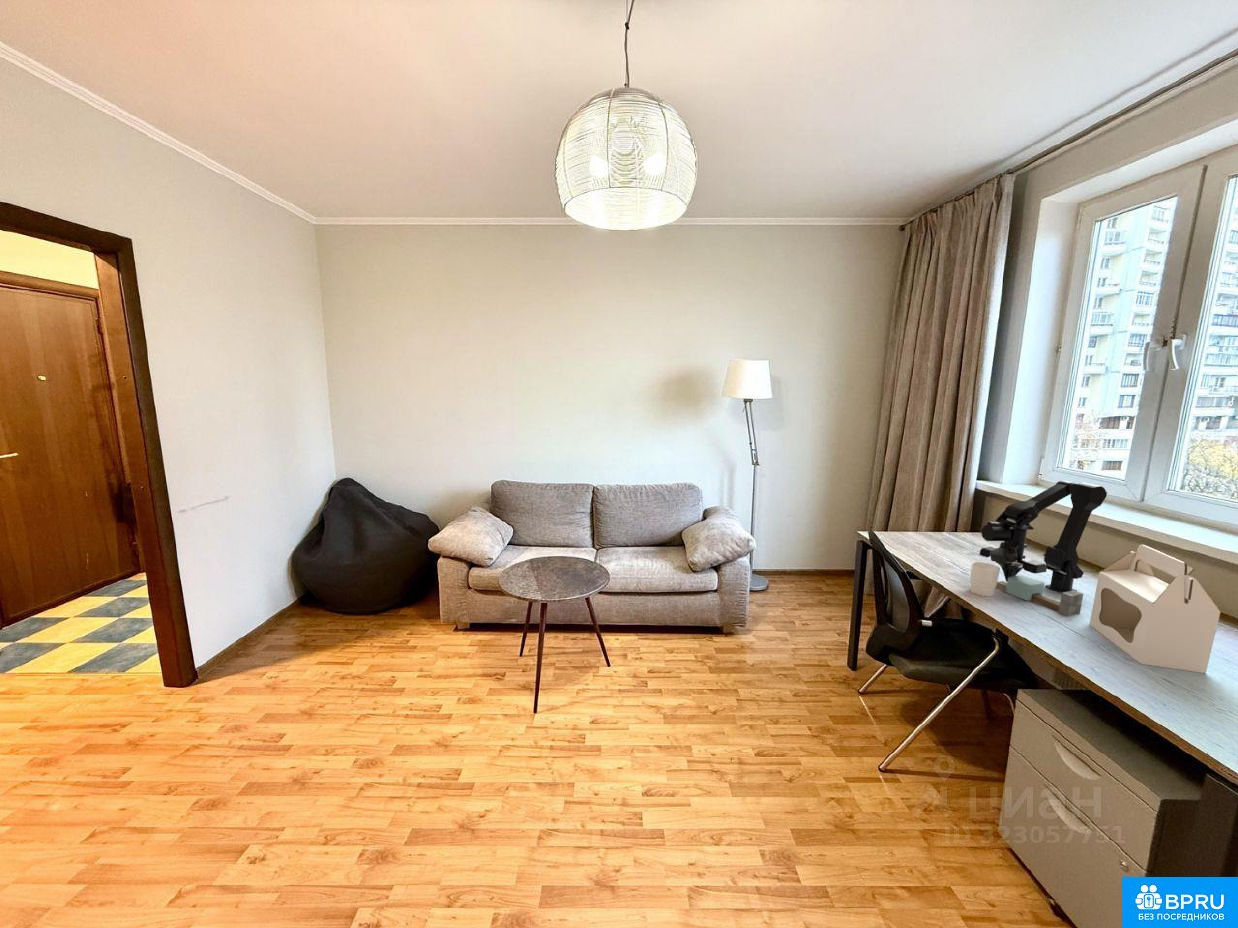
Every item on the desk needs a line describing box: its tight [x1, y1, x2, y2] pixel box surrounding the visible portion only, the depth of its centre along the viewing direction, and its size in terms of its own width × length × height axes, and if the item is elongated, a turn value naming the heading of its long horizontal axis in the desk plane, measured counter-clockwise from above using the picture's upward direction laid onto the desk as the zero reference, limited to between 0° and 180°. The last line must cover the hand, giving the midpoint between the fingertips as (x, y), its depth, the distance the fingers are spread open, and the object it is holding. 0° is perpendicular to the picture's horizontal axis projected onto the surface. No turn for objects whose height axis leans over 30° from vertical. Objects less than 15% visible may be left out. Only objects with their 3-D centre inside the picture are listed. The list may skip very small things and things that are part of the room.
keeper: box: [1005, 574, 1045, 602], centre depth 163 cm, size 7×7×6 cm
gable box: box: [1089, 544, 1221, 674], centre depth 130 cm, size 22×13×28 cm, turn 162°
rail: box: [996, 580, 1084, 618], centre depth 160 cm, size 6×22×7 cm, turn 18°
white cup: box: [969, 561, 1001, 597], centre depth 166 cm, size 8×8×10 cm
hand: (1008, 581), depth 168 cm, fingers closed
